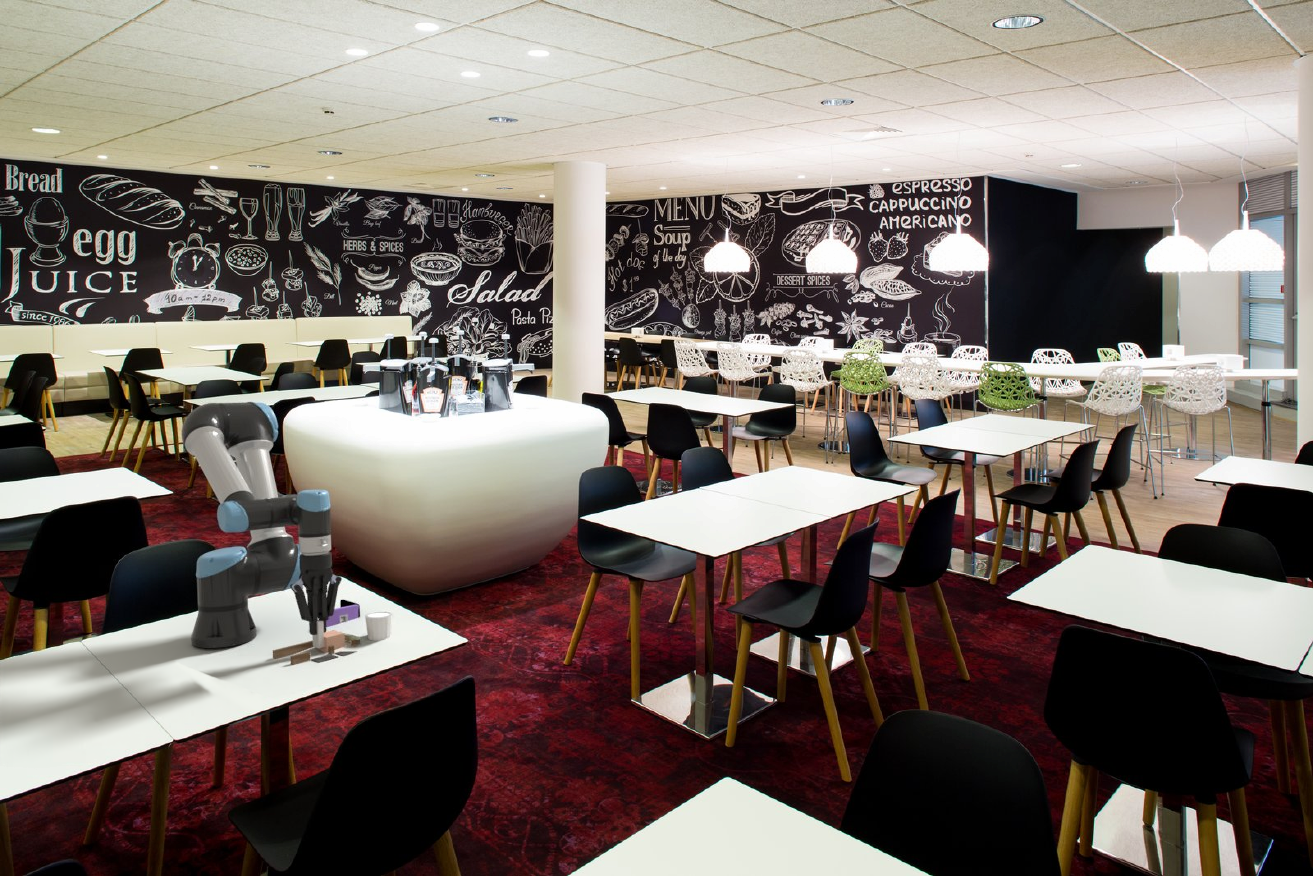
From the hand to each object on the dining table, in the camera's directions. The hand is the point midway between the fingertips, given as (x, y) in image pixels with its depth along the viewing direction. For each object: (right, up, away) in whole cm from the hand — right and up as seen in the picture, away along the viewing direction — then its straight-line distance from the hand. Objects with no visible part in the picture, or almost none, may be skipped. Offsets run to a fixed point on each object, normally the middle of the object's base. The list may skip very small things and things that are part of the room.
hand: (318, 646), depth 226 cm
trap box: (+1, -2, -1) cm, 2 cm away
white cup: (+12, -1, +10) cm, 16 cm away
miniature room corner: (-4, -1, +23) cm, 24 cm away
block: (+2, -1, +3) cm, 4 cm away
